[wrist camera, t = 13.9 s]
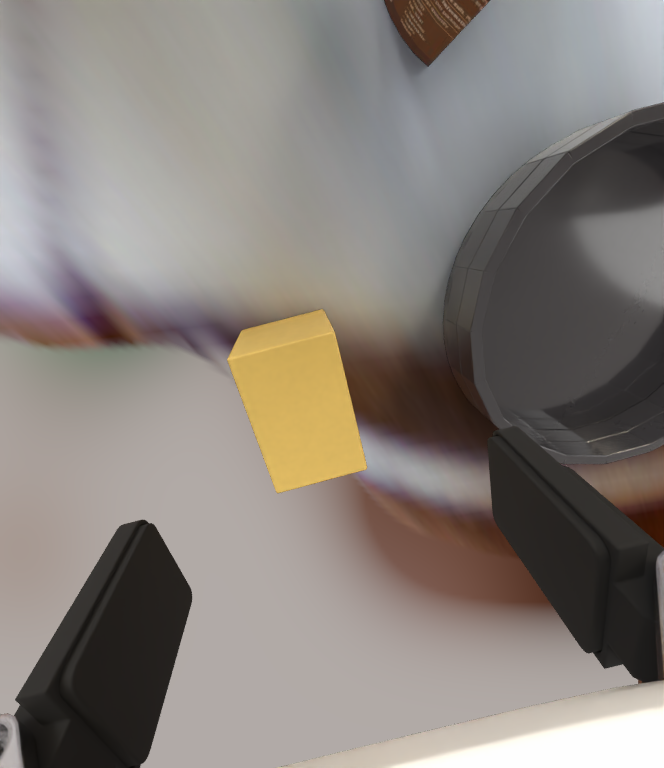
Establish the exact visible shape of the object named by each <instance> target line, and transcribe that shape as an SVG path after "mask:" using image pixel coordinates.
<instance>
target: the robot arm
mask: <svg viewBox="0 0 664 768" xmlns="http://www.w3.org/2000/svg"><path fill="white" fill-rule="evenodd" d="M488 456H489V470H490V483H491V497H492V510H493V516H494V519H495V522H496V524H497V526H498V527H499V529H500V530H501V532H502V533H503V534H504V536H505V537H506V539H507V540H508V542H509V543H510V545H511V546H512V548H513V549H514V551H515V552H516V553H517V555H518V556H519V558H520V559H521V561H522V562H523V564H524V565H525V567H526V568H527V569H528V570H529V572H530V574H531V575H532V577H533V578H534V579H535V581H536V583H537V584H538V586H539V587H540V588H541V590H542V591H543V593H544V594H545V596H546V597H547V599H548V600H549V601H550V603H551V605H552V606H553V607H554V609H555V610H556V612H557V613H558V615H559V616H560V617H561V619H562V621H563V622H564V623H565V625H566V626H567V628H568V629H569V631H570V632H571V634H572V635H573V637H574V638H575V640H576V641H577V642H578V644H579V645H580V647H581V648H582V649H583V650H584V651H585V652H586V653H592V652H593V653H594V654H595V656H596V657H597V659H598V660H599V661H600V663H601V665H602V666H603V667H604V668H609V667H613V666H617V665H622V664H623V665H624V666H625V667H626V668H627V670H628V671H629V673H630V674H631V675H632V676H633V677H634V678H636V679H638V684H635V685H629V686H622V687H616V688H611V689H607V690H602V691H597V692H593V693H588V694H583V695H579V696H574V697H570V698H566V699H561V700H556V701H552V702H547V703H542V704H538V705H533V706H529V707H524V708H520V709H516V710H512V711H508V712H504V713H500V714H495V715H491V716H487V717H483V718H479V719H475V720H471V721H466V722H462V723H458V724H454V725H450V726H445V727H441V728H437V729H433V730H429V731H424V732H420V733H416V734H412V735H408V736H404V737H400V738H396V739H391V740H387V741H384V742H379V743H375V744H371V745H367V746H364V747H359V748H355V749H351V750H347V751H342V752H339V753H334V754H330V755H326V756H322V757H318V758H314V759H311V760H306V761H302V762H298V763H294V764H290V765H286V766H282V767H278V768H664V548H663V547H662V546H661V545H659V544H658V543H657V542H656V541H655V540H654V539H652V538H651V537H650V536H649V535H648V534H647V533H645V532H644V531H643V530H642V529H641V528H640V527H639V526H637V525H636V524H635V523H634V522H633V521H632V520H630V519H629V518H628V517H627V516H626V515H625V514H623V513H622V512H621V511H620V510H619V509H618V508H616V507H615V506H614V505H613V504H612V503H611V502H609V501H608V500H607V499H606V498H605V497H604V496H603V495H601V494H600V493H599V492H598V491H597V490H596V489H594V488H593V487H592V486H591V485H590V484H589V483H587V482H586V481H585V480H584V479H583V478H582V477H580V476H579V475H578V474H577V473H576V472H575V471H573V470H572V469H570V468H569V467H565V466H562V465H561V464H560V463H559V462H558V461H556V460H555V459H554V458H553V457H552V456H551V455H550V454H548V453H547V452H546V451H545V450H544V449H543V448H542V447H541V446H539V445H538V444H537V443H536V442H535V441H534V440H533V439H531V438H530V437H529V436H528V435H527V434H526V433H525V432H523V431H522V430H521V429H520V428H519V427H517V426H512V427H508V428H504V429H500V430H496V431H494V432H493V437H491V438H488ZM191 603H192V592H191V588H190V586H189V585H188V583H187V581H186V579H185V578H184V576H183V574H182V572H181V571H180V569H179V567H178V565H177V564H176V562H175V560H174V558H173V556H172V555H171V553H170V552H169V550H168V548H167V546H166V544H165V542H164V541H163V539H162V537H161V535H160V534H159V532H158V530H157V528H156V527H155V525H154V524H152V523H150V524H149V523H148V522H147V521H146V520H139V521H135V522H131V523H127V524H124V525H121V526H120V527H119V528H118V529H117V531H116V532H115V534H114V536H113V537H112V539H111V541H110V542H109V544H108V546H107V547H106V549H105V551H104V553H103V554H102V556H101V557H100V559H99V561H98V562H97V564H96V566H95V567H94V569H93V571H92V572H91V574H90V576H89V577H88V579H87V581H86V583H85V584H84V586H83V587H82V589H81V591H80V592H79V594H78V596H77V597H76V599H75V601H74V603H73V604H72V606H71V607H70V609H69V611H68V612H67V614H66V616H65V617H64V619H63V621H62V622H61V624H60V626H59V627H58V629H57V631H56V633H55V634H54V636H53V637H52V639H51V641H50V642H49V644H48V646H47V647H46V649H45V651H44V652H43V654H42V656H41V657H40V659H39V661H38V662H37V664H36V666H35V667H34V669H33V671H32V673H31V674H30V676H29V677H28V679H27V681H26V683H25V684H24V686H23V687H22V689H21V691H20V692H19V694H18V696H17V698H16V699H15V700H16V701H17V702H18V703H19V704H20V706H19V708H18V710H17V712H16V713H15V715H14V716H12V715H10V714H8V713H7V714H1V715H0V768H140V765H141V764H142V763H144V762H145V760H146V759H147V757H148V755H149V752H150V749H151V745H152V742H153V738H154V735H155V731H156V728H157V724H158V721H159V717H160V713H161V710H162V706H163V703H164V699H165V695H166V692H167V689H168V685H169V681H170V678H171V674H172V671H173V667H174V663H175V660H176V657H177V653H178V649H179V646H180V642H181V639H182V635H183V632H184V628H185V625H186V621H187V617H188V614H189V610H190V607H191Z"/></svg>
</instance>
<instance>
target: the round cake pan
mask: <svg viewBox="0 0 664 768" xmlns="http://www.w3.org/2000/svg"><path fill="white" fill-rule="evenodd" d="M443 330H444V343H445V348H446V353H447V358H448V361H449V364H450V367H451V370H452V373H453V375H454V377H455V379H456V381H457V383H458V385H459V387H460V389H461V390H462V391H463V393H464V394H465V395H466V397H467V399H468V401H469V402H470V403H471V404H472V405H473V406H474V407H475V408H476V409H478V410H479V411H480V412H481V413H482V414H483V415H484V416H485V417H486V418H487V419H489V420H490V421H491V422H492V423H493V424H494V425H495V426H496V427H497V428H499V429H504V428H508V427H512V426H517V427H519V428H520V429H521V430H522V431H523V432H525V433H526V434H527V435H528V436H529V437H530V438H531V439H533V440H534V441H535V442H536V443H537V444H538V445H539V446H541V447H542V448H543V449H544V450H545V451H546V452H547V453H548V454H550V455H551V456H552V457H553V458H554V459H555V460H556V461H558V462H559V463H561V464H607V463H611V462H615V461H618V460H622V459H626V458H629V457H633V456H637V455H641V454H644V453H648V452H650V451H653V450H655V449H657V448H659V447H660V446H662V445H664V102H663V103H659V104H655V105H651V106H647V107H643V108H639V109H635V110H632V111H629V112H626V113H624V114H621V115H618V116H615V117H613V118H610V119H607V120H605V121H602V122H599V123H596V124H593V125H591V126H588V127H585V128H583V129H580V130H578V131H576V132H574V133H573V134H571V135H569V136H568V137H566V138H565V139H563V140H561V141H559V142H557V143H554V144H552V145H551V146H549V147H548V148H546V149H545V150H543V151H542V152H540V153H539V154H537V155H536V156H534V157H533V158H531V159H530V160H529V161H528V162H527V163H525V164H524V165H523V166H522V167H521V168H519V169H518V170H517V171H516V172H515V173H514V174H512V175H511V176H510V177H509V179H508V180H507V181H506V182H505V183H504V184H503V185H502V186H501V187H500V188H499V189H498V190H497V191H496V192H495V193H494V195H493V196H492V197H491V199H490V200H489V201H488V203H487V204H486V205H485V207H484V208H483V209H482V211H481V212H480V213H479V215H478V216H477V218H476V220H475V221H474V223H473V225H472V226H471V228H470V230H469V231H468V233H467V235H466V237H465V239H464V241H463V243H462V245H461V248H460V250H459V252H458V254H457V256H456V259H455V262H454V265H453V268H452V271H451V274H450V277H449V281H448V286H447V291H446V296H445V303H444V315H443Z"/></svg>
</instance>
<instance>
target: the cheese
mask: <svg viewBox="0 0 664 768" xmlns="http://www.w3.org/2000/svg"><path fill="white" fill-rule="evenodd" d="M227 361H228V364H229V366H230V369H231V372H232V375H233V377H234V380H235V383H236V385H237V388H238V391H239V393H240V396H241V398H242V401H243V404H244V407H245V409H246V412H247V415H248V417H249V420H250V423H251V426H252V428H253V431H254V434H255V436H256V439H257V442H258V444H259V447H260V449H261V452H262V455H263V457H264V460H265V463H266V466H267V469H268V471H269V474H270V477H271V479H272V482H273V485H274V487H275V490H276V492H277V493H281V492H285V491H288V490H292V489H296V488H300V487H303V486H307V485H311V484H315V483H318V482H322V481H326V480H329V479H333V478H337V477H341V476H344V475H348V474H352V473H356V472H359V471H363V470H366V469H367V465H366V460H365V456H364V452H363V448H362V444H361V439H360V435H359V431H358V427H357V423H356V419H355V414H354V410H353V406H352V402H351V398H350V394H349V389H348V385H347V381H346V377H345V373H344V368H343V364H342V360H341V356H340V352H339V348H338V343H337V339H336V335H335V332H334V330H333V328H332V326H331V324H330V322H329V320H328V318H327V316H326V314H325V312H324V310H323V309H321V310H317V311H313V312H309V313H306V314H302V315H298V316H294V317H290V318H286V319H283V320H279V321H275V322H271V323H267V324H263V325H260V326H256V327H252V328H248V329H244V330H242V331H241V333H240V335H239V337H238V339H237V341H236V343H235V345H234V347H233V349H232V351H231V353H230V355H229V357H228V359H227Z"/></svg>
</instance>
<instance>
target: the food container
mask: <svg viewBox="0 0 664 768" xmlns="http://www.w3.org/2000/svg"><path fill="white" fill-rule="evenodd" d="M384 1H385V4H386V7H387V9H388V12H389V14H390V17H391V19H392V21H393V23H394V24H395V26H396V28H397V30H398V32H399V34H400V35H401V37H402V38H403V40H404V41H405V42H406V44H407V45H408V46H409V48H410V49H411V50H412V52H413V53H414V54H415V55H416V56H417V57H418V58H419V59H420V60H421V61H423V62H424V63H425V64H426V65H427V66H429V65H430V64H431V63H432V62H433V61H434V60H435V59H436V58H437V57H438V56H439V54H440V53H441V52H442V51H443V50H444V49H445V48H446V47H447V46H448V45H449V44H450V43H451V42H452V41H453V40H454V39H455V37H456V36H457V35H458V34H459V33H460V32H461V31H462V30H463V29H464V28H465V27H466V26H467V25H468V24H469V23H470V21H471V20H472V19H473V18H474V17H475V16H476V15H477V14H478V13H479V12H480V11H481V10H482V9H483V8H484V7H485V6H486V4H487V3H488V2H489V1H490V0H384Z"/></svg>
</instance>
